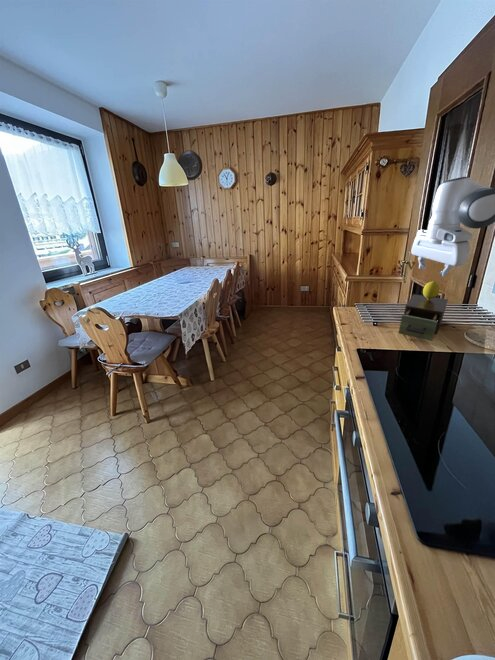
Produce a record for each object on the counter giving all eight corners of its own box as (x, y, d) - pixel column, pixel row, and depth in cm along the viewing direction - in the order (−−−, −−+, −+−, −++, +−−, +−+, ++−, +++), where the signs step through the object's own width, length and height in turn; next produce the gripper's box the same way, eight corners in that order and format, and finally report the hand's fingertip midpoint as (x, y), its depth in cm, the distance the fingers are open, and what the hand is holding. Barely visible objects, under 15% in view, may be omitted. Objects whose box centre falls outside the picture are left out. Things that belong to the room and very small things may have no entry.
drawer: (429, 346, 102) (435, 326, 99) (395, 337, 109) (399, 319, 105) (437, 326, 115) (442, 309, 111) (406, 320, 121) (409, 303, 118)
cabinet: (436, 334, 111) (443, 312, 107) (401, 327, 118) (405, 305, 114) (442, 320, 121) (448, 299, 117) (408, 314, 128) (413, 294, 124)
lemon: (432, 297, 120) (437, 278, 116) (439, 302, 115) (444, 283, 111) (418, 297, 120) (423, 279, 117) (424, 302, 115) (429, 283, 112)
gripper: (411, 229, 103) (403, 266, 110) (460, 237, 85) (448, 281, 92) (425, 227, 104) (417, 264, 111) (478, 235, 87) (464, 279, 93)
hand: (432, 272), depth 101 cm, fingers open, 8 cm apart
